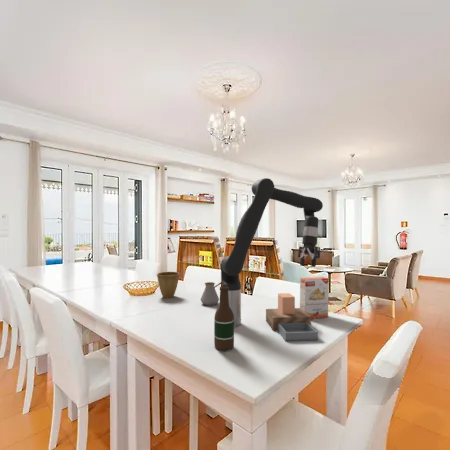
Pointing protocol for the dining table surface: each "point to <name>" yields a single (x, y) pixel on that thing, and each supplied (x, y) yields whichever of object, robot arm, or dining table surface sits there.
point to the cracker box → (314, 296)
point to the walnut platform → (286, 317)
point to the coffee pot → (210, 294)
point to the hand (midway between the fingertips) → (307, 266)
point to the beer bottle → (224, 323)
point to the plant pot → (168, 283)
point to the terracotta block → (286, 303)
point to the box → (297, 332)
